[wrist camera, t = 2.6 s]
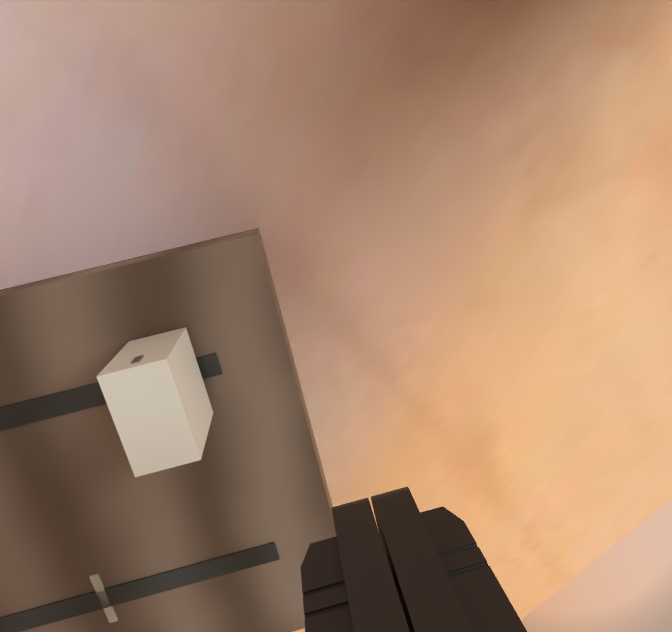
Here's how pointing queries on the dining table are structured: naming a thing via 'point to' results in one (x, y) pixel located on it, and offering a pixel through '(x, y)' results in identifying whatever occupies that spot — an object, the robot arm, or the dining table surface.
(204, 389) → the cream fader
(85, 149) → the dining table surface
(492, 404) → the dining table surface
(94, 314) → the console
